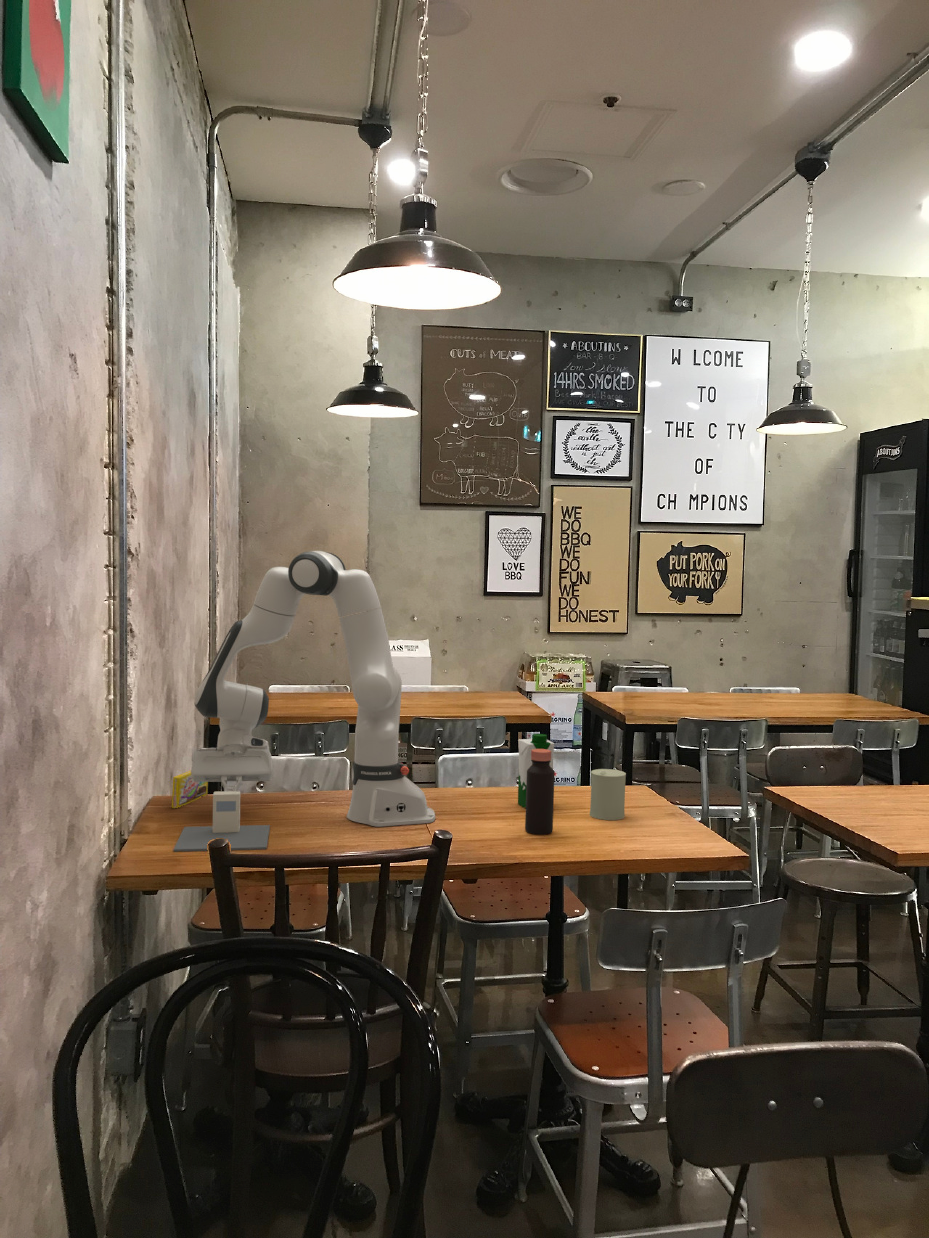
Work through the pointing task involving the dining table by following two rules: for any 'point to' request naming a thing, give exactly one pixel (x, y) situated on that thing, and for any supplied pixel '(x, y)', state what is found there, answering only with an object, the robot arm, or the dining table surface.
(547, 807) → the bottle
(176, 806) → the candy box
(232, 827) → the card deck
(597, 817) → the can
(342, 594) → the robot arm
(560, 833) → the dining table surface
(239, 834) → the mat
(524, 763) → the milk carton
